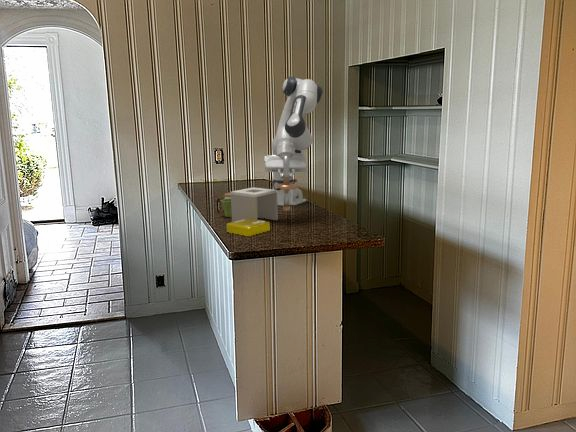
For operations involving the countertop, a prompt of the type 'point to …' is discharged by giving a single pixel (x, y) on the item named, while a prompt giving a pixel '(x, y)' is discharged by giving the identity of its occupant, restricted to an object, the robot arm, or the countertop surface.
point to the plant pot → (227, 207)
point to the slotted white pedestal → (254, 204)
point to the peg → (286, 182)
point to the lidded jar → (227, 195)
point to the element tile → (248, 227)
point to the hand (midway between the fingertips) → (286, 177)
